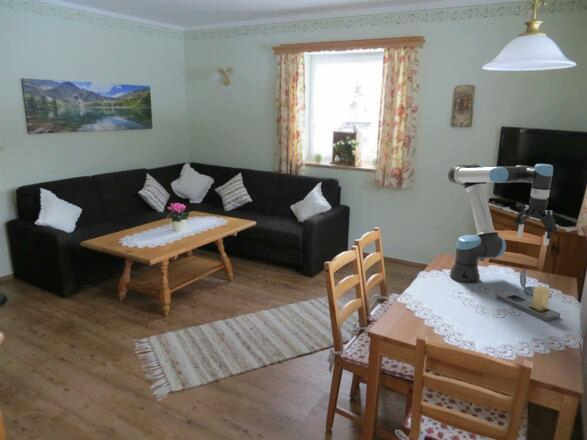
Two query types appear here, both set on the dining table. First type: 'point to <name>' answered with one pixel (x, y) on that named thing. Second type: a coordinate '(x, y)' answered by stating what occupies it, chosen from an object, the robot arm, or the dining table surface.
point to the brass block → (540, 299)
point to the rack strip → (527, 306)
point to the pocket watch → (523, 283)
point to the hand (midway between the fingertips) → (532, 241)
